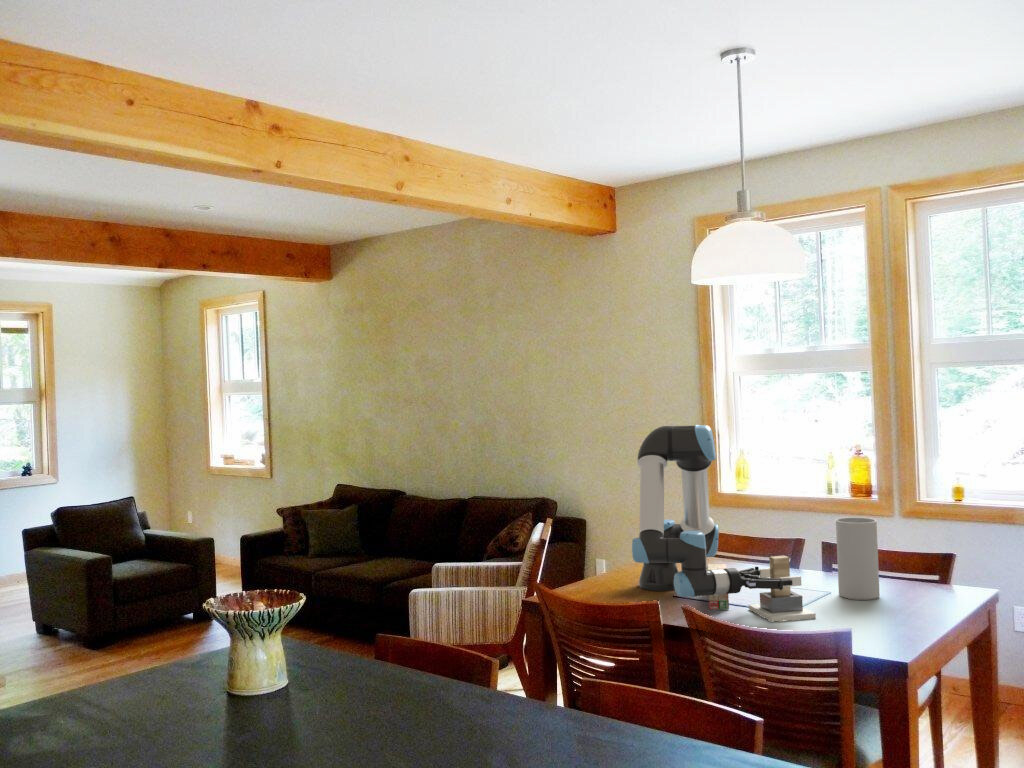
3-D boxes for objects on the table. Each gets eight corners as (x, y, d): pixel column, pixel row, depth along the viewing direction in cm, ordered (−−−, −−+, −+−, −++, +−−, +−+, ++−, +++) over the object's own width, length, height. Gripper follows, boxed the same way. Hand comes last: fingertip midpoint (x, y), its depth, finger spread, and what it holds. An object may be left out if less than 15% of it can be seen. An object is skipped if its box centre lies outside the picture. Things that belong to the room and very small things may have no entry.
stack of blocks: (707, 594, 301) (706, 558, 301) (726, 594, 300) (725, 558, 300) (709, 610, 280) (707, 571, 280) (729, 610, 279) (727, 571, 279)
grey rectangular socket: (760, 607, 275) (759, 592, 275) (790, 604, 277) (789, 590, 277) (772, 613, 267) (771, 598, 267) (802, 610, 269) (802, 595, 269)
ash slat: (771, 608, 273) (769, 556, 273) (786, 607, 274) (784, 555, 274) (775, 610, 270) (773, 558, 270) (791, 609, 271) (789, 557, 271)
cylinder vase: (838, 599, 287) (835, 522, 287) (838, 591, 298) (835, 517, 299) (880, 601, 282) (877, 523, 283) (878, 592, 294) (875, 517, 294)
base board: (748, 609, 278) (748, 604, 278) (790, 606, 281) (789, 601, 281) (772, 622, 263) (772, 617, 263) (815, 618, 265) (815, 613, 265)
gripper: (709, 585, 281) (771, 580, 285) (743, 603, 257) (810, 597, 260) (708, 561, 281) (770, 557, 285) (742, 577, 257) (809, 571, 260)
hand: (789, 576), depth 273 cm, fingers open, 13 cm apart
